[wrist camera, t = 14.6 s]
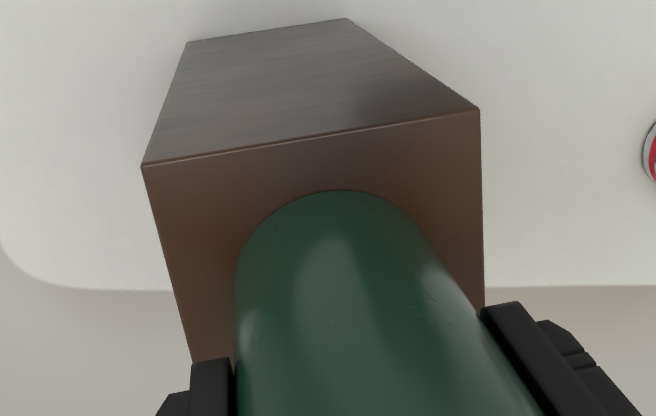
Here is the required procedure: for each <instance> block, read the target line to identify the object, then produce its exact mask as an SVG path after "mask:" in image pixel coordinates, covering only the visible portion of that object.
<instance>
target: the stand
mask: <svg viewBox="0 0 656 416" xmlns="http://www.w3.org/2000/svg"><path fill="white" fill-rule="evenodd" d="M140 168H141V171H142V175H143V179H144V182H145V186H146V190H147V194H148V197H149V201H150V205H151V209H152V212H153V216H154V220H155V224H156V227H157V231H158V235H159V239H160V242H161V246H162V250H163V254H164V257H165V261H166V265H167V268H168V272H169V276H170V280H171V283H172V287H173V291H174V295H175V298H176V302H177V305H178V310H179V313H180V317H181V321H182V325H183V328H184V332H185V336H186V339H187V343H188V347H189V350H190V354H191V358H192V362H193V363H197V362H202V361H207V360H212V359H218V358H223V357H229V359H230V362H231V365H232V370H233V374H234V349H233V294H232V290H233V275H234V269H235V266H236V262H237V259H238V256H239V254H240V252H241V250H242V248H243V246H244V244H245V243H246V241H247V240H248V238H249V237H250V235H251V234H252V233H253V231H254V230H255V229H256V228H257V227H258V226H259V225H260V224H261V223H262V222H263V221H264V220H265V219H266V218H267V217H269V216H270V215H271V214H272V213H274V212H275V211H277V210H278V209H280V208H281V207H283V206H285V205H287V204H289V203H290V202H292V201H294V200H297V199H300V198H302V197H305V196H308V195H311V194H316V193H320V192H326V191H335V190H350V191H358V192H364V193H368V194H372V195H376V196H378V197H381V198H383V199H385V200H388V201H390V202H392V203H393V204H395V205H397V206H398V207H400V208H401V209H402V210H404V211H405V212H406V213H407V214H409V215H410V216H411V218H412V219H413V220H414V221H415V222H416V223H417V224H418V226H419V227H420V228H421V230H422V231H423V233H424V234H425V236H426V237H427V239H428V240H429V242H430V243H431V245H432V246H433V248H434V249H435V251H436V252H437V254H438V255H439V257H440V258H441V260H442V261H443V263H444V264H445V266H446V267H447V269H448V270H449V272H450V273H451V275H452V276H453V278H454V279H455V281H456V282H457V284H458V285H459V287H460V288H461V290H462V291H463V293H464V294H465V296H466V297H467V299H468V300H469V302H470V303H471V305H472V306H473V308H474V309H475V311H476V312H477V314H478V315H479V317H480V310H481V308H482V307H485V289H484V249H483V209H482V168H481V128H480V109H479V107H477V106H476V105H474V104H473V103H471V102H470V101H468V100H467V99H465V98H464V97H462V96H461V95H459V94H458V93H456V92H455V91H453V90H452V89H451V88H449V87H448V86H446V85H445V84H443V83H442V82H440V81H439V80H437V79H436V78H434V77H433V76H431V75H430V74H428V73H427V72H425V71H424V70H422V69H421V68H419V67H418V66H417V65H415V64H414V63H412V62H411V61H409V60H408V59H406V58H405V57H403V56H402V55H400V54H399V53H397V52H396V51H394V50H393V49H391V48H390V47H388V46H387V45H385V44H384V43H383V42H381V41H380V40H378V39H377V38H375V37H374V36H372V35H371V34H369V33H368V32H366V31H365V30H363V29H362V28H360V27H359V26H357V25H356V24H354V23H353V22H351V21H350V20H349V19H347V18H343V19H337V20H330V21H323V22H317V23H310V24H304V25H297V26H290V27H284V28H277V29H271V30H264V31H257V32H251V33H244V34H238V35H231V36H224V37H218V38H211V39H205V40H198V41H191V42H187V43H186V46H185V48H184V51H183V54H182V56H181V59H180V62H179V64H178V67H177V70H176V72H175V75H174V78H173V80H172V83H171V86H170V88H169V91H168V93H167V96H166V99H165V101H164V104H163V107H162V109H161V112H160V115H159V117H158V120H157V123H156V125H155V128H154V131H153V133H152V136H151V139H150V141H149V144H148V146H147V149H146V152H145V154H144V157H143V160H142V162H141V166H140Z"/></svg>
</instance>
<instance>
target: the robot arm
mask: <svg viewBox="0 0 656 416" xmlns="http://www.w3.org/2000/svg"><path fill="white" fill-rule="evenodd" d="M480 318H481V320H482V321H483V323H484V324H485V326H486V327H487V329H488V330H489V332H490V333H491V335H492V336H493V338H494V339H495V341H496V342H497V344H498V345H499V347H500V348H501V350H502V351H503V353H504V354H505V356H506V357H507V359H508V360H509V362H510V363H511V365H512V366H513V368H514V369H515V371H516V372H517V374H518V375H519V377H520V378H521V380H522V381H523V383H524V384H525V386H526V387H527V389H528V390H529V392H530V393H531V395H532V396H533V398H534V399H535V401H536V402H537V404H538V405H539V407H540V408H541V410H542V411H543V413H544V414H545V416H642V415H641V414H640V413H639V412H638V410H637V409H636V408H635V407H634V406H633V405H632V403H631V402H630V401H629V400H628V399H627V398H626V397H625V395H624V394H623V393H622V392H621V391H620V389H619V388H618V387H617V386H616V385H615V384H614V383H613V381H612V380H611V379H610V378H609V377H608V376H607V375H606V373H605V372H604V371H603V370H602V369H601V368H600V366H597V365H596V362H595V361H594V360H593V358H592V357H591V356H590V355H589V354H588V353H587V352H585V351H584V348H583V347H582V346H581V345H580V344H579V342H578V341H577V340H576V339H575V338H574V336H572V334H571V333H570V332H568V331H567V330H565V329H563V328H561V327H560V326H558V325H556V324H554V323H553V322H551V321H549V320H544V321H538V322H535V321H534V320H533V319H532V317H531V316H530V315H529V314H528V312H527V311H526V310H525V308H524V307H523V306H522V305H521V304H520V303H519V302H518V301H513V302H508V303H503V304H497V305H492V306H487V307H482V308H481V310H480ZM155 416H235V402H234V374H233V370H232V365H231V362H230V359H229V357H223V358H218V359H212V360H207V361H202V362H197V363H193V364H192V366H191V376H190V389H189V390H188V391H183V392H178V393H173V394H169V395H168V397H167V398H166V400H165V401H164V403H163V404H162V406H161V407H160V409H159V410H158V412H157V414H156V415H155Z"/></svg>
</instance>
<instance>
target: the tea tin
mask: <svg viewBox="0 0 656 416" xmlns="http://www.w3.org/2000/svg"><path fill="white" fill-rule="evenodd" d="M232 294H233V349H234V402H235V416H545V414H544V413H543V411H542V410H541V408H540V407H539V405H538V404H537V402H536V401H535V399H534V398H533V396H532V395H531V393H530V392H529V390H528V389H527V387H526V386H525V384H524V383H523V381H522V380H521V378H520V377H519V375H518V374H517V372H516V371H515V369H514V368H513V366H512V365H511V363H510V362H509V360H508V359H507V357H506V356H505V354H504V353H503V351H502V350H501V348H500V347H499V345H498V344H497V342H496V341H495V339H494V338H493V336H492V335H491V333H490V332H489V330H488V329H487V327H486V326H485V324H484V323H483V321H482V320H481V318H480V317H479V315H478V314H477V312H476V311H475V309H474V308H473V306H472V305H471V303H470V302H469V300H468V299H467V297H466V296H465V294H464V293H463V291H462V290H461V288H460V287H459V285H458V284H457V282H456V281H455V279H454V278H453V276H452V275H451V273H450V272H449V270H448V269H447V267H446V266H445V264H444V263H443V261H442V260H441V258H440V257H439V255H438V254H437V252H436V251H435V249H434V248H433V246H432V245H431V243H430V242H429V240H428V239H427V237H426V236H425V234H424V233H423V231H422V230H421V228H420V227H419V226H418V224H417V223H416V222H415V221H414V220H413V219H412V218H411V216H410V215H409V214H407V213H406V212H405V211H404V210H402V209H401V208H400V207H398V206H397V205H395V204H393V203H392V202H390V201H388V200H385V199H383V198H381V197H378V196H376V195H372V194H368V193H364V192H358V191H350V190H335V191H326V192H320V193H316V194H311V195H308V196H305V197H302V198H300V199H297V200H294V201H292V202H290V203H289V204H287V205H285V206H283V207H281V208H280V209H278V210H277V211H275V212H274V213H272V214H271V215H270V216H269V217H267V218H266V219H265V220H264V221H263V222H262V223H261V224H260V225H259V226H258V227H257V228H256V229H255V230H254V231H253V233H252V234H251V235H250V237H249V238H248V240H247V241H246V243H245V244H244V246H243V248H242V250H241V252H240V254H239V256H238V259H237V262H236V266H235V269H234V275H233V290H232Z"/></svg>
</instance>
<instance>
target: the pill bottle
mask: <svg viewBox="0 0 656 416" xmlns="http://www.w3.org/2000/svg"><path fill="white" fill-rule="evenodd" d="M643 164H644V167H645V170H646V172H647V174H648V176H649V177H650V178H651V180H652V181H654V182H655V183H656V124H655V125H654V127H653V128H652V130H651V131H650V133H649V134H648V136H647V138H646V141H645V145H644V151H643Z"/></svg>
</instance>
